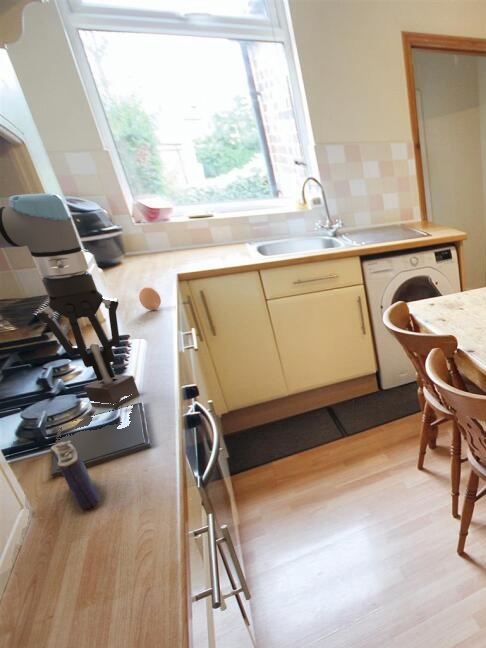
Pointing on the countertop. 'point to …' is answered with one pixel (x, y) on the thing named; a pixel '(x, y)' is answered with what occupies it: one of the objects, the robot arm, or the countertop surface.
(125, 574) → the countertop surface
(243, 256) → the countertop surface
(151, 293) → the egg
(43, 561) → the countertop surface
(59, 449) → the flask
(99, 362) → the stylus
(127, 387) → the holder
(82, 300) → the robot arm
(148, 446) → the plate
